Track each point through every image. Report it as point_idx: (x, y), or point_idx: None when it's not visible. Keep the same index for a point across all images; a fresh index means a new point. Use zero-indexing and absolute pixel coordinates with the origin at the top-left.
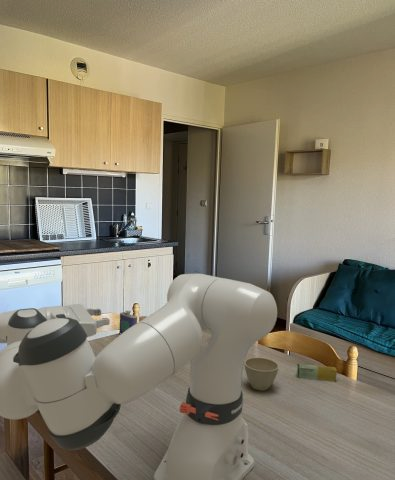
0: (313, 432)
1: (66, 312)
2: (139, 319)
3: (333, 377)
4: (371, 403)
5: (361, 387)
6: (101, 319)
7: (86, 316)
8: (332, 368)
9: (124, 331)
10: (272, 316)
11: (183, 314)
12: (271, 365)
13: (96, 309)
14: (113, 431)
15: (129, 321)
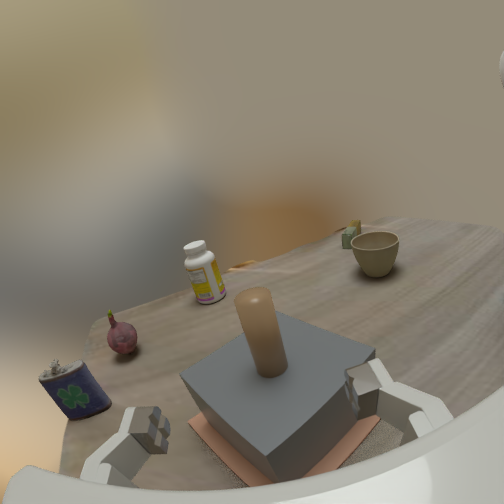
0: (465, 247)
1: None
2: (256, 309)
3: (360, 228)
4: (402, 222)
5: (373, 223)
6: (398, 391)
7: (402, 490)
8: (355, 221)
9: (79, 407)
10: None
11: None
12: (363, 241)
13: (132, 423)
14: None
15: (76, 380)
